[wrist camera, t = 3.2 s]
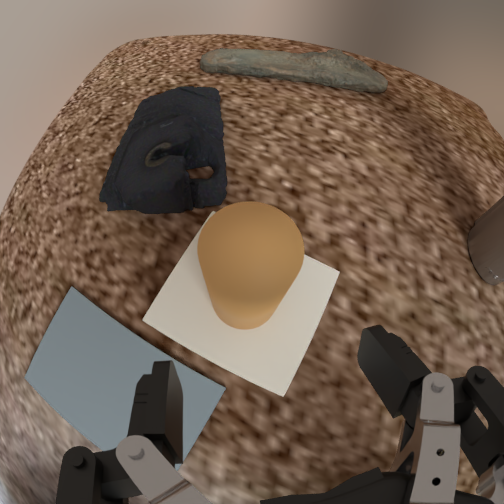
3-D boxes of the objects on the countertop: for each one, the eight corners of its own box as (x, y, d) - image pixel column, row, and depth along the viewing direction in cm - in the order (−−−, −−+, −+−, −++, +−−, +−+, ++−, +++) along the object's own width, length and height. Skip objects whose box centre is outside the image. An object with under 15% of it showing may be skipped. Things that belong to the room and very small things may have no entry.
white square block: (215, 232, 28) (212, 210, 24) (325, 286, 26) (339, 271, 23) (155, 328, 24) (142, 320, 20) (275, 392, 22) (283, 396, 18)
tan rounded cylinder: (231, 256, 23) (230, 187, 14) (287, 284, 22) (319, 228, 14) (199, 309, 21) (176, 266, 12) (259, 341, 20) (276, 318, 12)
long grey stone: (206, 62, 45) (198, 88, 42) (203, 41, 40) (194, 64, 37) (376, 75, 45) (390, 103, 42) (383, 56, 40) (400, 83, 37)
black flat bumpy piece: (234, 98, 38) (235, 72, 34) (225, 218, 29) (224, 191, 25) (139, 102, 37) (133, 79, 33) (94, 218, 28) (77, 194, 24)
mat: (74, 287, 24) (71, 286, 24) (226, 387, 22) (225, 388, 21) (27, 378, 20) (24, 377, 19) (166, 487, 17) (165, 490, 17)
